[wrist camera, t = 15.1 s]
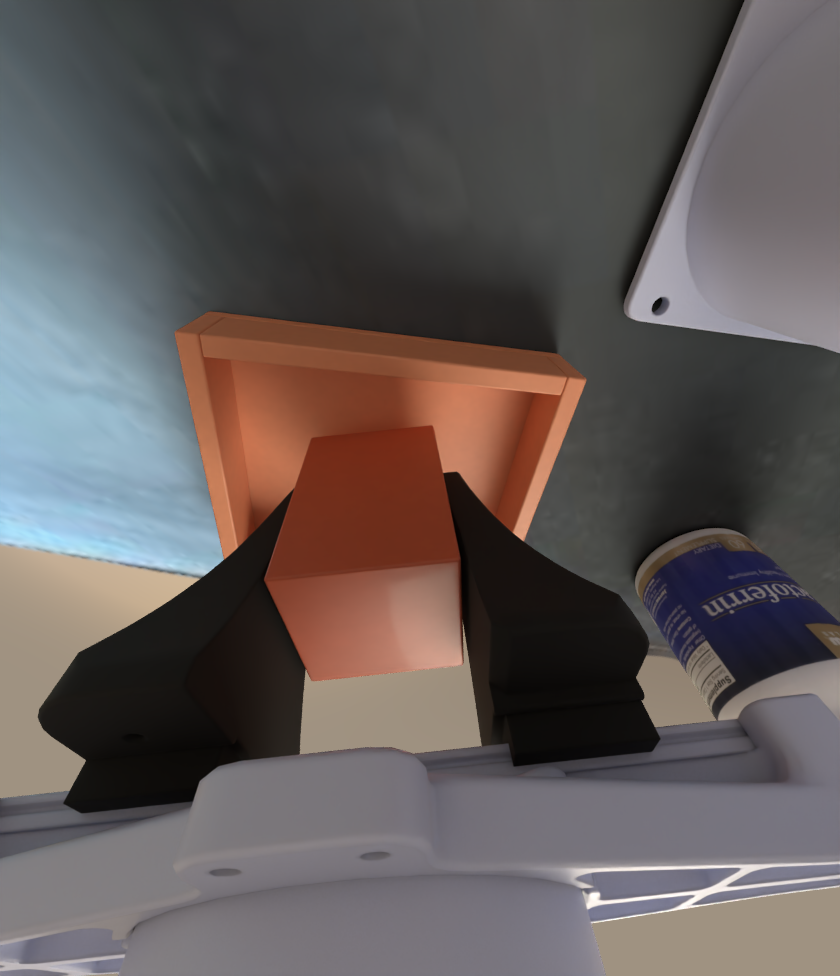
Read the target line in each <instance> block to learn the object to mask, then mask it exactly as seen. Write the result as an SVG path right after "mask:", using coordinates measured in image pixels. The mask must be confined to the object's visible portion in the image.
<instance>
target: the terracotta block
mask: <svg viewBox="0 0 840 976" xmlns="http://www.w3.org/2000/svg"><path fill="white" fill-rule="evenodd" d="M264 581H265V584H266V586H267V588H268V590H269V592H270V594H271V596H272V599H273V601H274V603H275V605H276V607H277V609H278V611H279V613H280V615H281V618H282V620H283V622H284V624H285V626H286V628H287V630H288V632H289V634H290V637H291V639H292V641H293V643H294V645H295V647H296V649H297V651H298V653H299V656H300V658H301V660H302V662H303V664H304V666H305V668H306V670H307V673H308V675H309V677H310V679H311V680H312V681H322V680H331V679H341V678H350V677H359V676H369V675H378V674H387V673H397V672H406V671H416V670H425V669H434V668H443V667H453V666H461V665H463V663H464V658H463V620H462V583H461V557H460V553H459V548H458V543H457V538H456V533H455V528H454V523H453V519H452V514H451V509H450V504H449V499H448V494H447V489H446V485H445V480H444V475H443V470H442V465H441V460H440V455H439V451H438V446H437V441H436V436H435V431H434V427H433V426H432V425H429V426H419V427H410V428H400V429H390V430H381V431H371V432H361V433H352V434H342V435H332V436H322V437H313V438H311V440H310V443H309V446H308V449H307V452H306V455H305V458H304V461H303V464H302V467H301V470H300V473H299V476H298V479H297V482H296V485H295V488H294V491H293V494H292V497H291V500H290V503H289V506H288V509H287V512H286V515H285V518H284V521H283V524H282V527H281V530H280V533H279V536H278V539H277V542H276V545H275V548H274V551H273V554H272V557H271V560H270V563H269V566H268V569H267V572H266V575H265V578H264Z"/></svg>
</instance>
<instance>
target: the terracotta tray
mask: <svg viewBox="0 0 840 976" xmlns="http://www.w3.org/2000/svg"><path fill="white" fill-rule="evenodd" d="M175 338H176V343H177V347H178V352H179V356H180V361H181V365H182V370H183V374H184V379H185V383H186V388H187V393H188V397H189V402H190V406H191V411H192V415H193V420H194V424H195V429H196V433H197V438H198V443H199V447H200V452H201V456H202V461H203V465H204V470H205V474H206V479H207V483H208V488H209V493H210V497H211V502H212V506H213V511H214V515H215V520H216V524H217V529H218V534H219V538H220V543H221V547H222V552H223V556H224V559H226V558H227V557H228V556H229V555H230V554H231V553H232V552H233V551H235V550H236V549H237V548H238V547H239V546H240V545H241V544H242V543H243V542H244V541H245V540H246V539H247V538H248V537H249V536H250V535H251V534H252V533H253V532H254V531H255V530H256V529H257V528H258V527H259V526H260V525H261V524H262V523H263V521H264V520H265V519H266V518H267V517H268V516H269V515H270V514H271V513H272V512H273V511H274V510H275V508H276V507H277V506H278V505H279V504H280V503H281V502H282V501H283V499H284V498H285V497H286V496H287V495H288V494H289V493H290V492H291V491H292V490H293V489H294V488H295V485H296V482H297V479H298V476H299V473H300V470H301V467H302V464H303V461H304V458H305V455H306V452H307V449H308V446H309V443H310V440H311V438H313V437H322V436H332V435H342V434H352V433H361V432H371V431H381V430H390V429H400V428H410V427H419V426H429V425H432V426H433V427H434V431H435V436H436V441H437V446H438V451H439V455H440V460H441V465H442V470H443V473H446V472H456V471H457V472H458V473H459V474H460V475H461V476H462V478H463V479H464V481H465V482H466V483H467V485H468V486H469V487H470V489H471V490H472V491H473V492H474V494H475V495H476V496H477V497H478V498H479V500H480V501H481V502H482V503H483V504H484V505H485V506H486V507H487V508H488V510H489V511H490V512H491V513H492V514H493V515H494V516H495V517H496V518H497V519H498V520H499V521H500V522H501V523H503V524H504V525H505V526H506V527H507V528H508V529H509V530H510V531H511V532H513V533H514V534H515V535H516V536H517V537H519V538H520V539H521V540H522V541H524V539H525V536H526V534H527V531H528V529H529V526H530V524H531V521H532V518H533V516H534V513H535V511H536V508H537V506H538V503H539V501H540V498H541V495H542V493H543V490H544V488H545V485H546V483H547V480H548V478H549V475H550V472H551V470H552V467H553V465H554V462H555V460H556V457H557V454H558V452H559V449H560V447H561V444H562V442H563V439H564V437H565V434H566V431H567V429H568V426H569V424H570V421H571V419H572V416H573V413H574V411H575V408H576V406H577V403H578V401H579V398H580V396H581V393H582V390H583V388H584V385H585V383H586V378H585V377H584V376H583V375H581V374H580V373H579V372H578V371H577V370H576V369H575V368H573V367H572V366H571V365H570V364H569V363H568V362H567V361H565V360H564V359H563V358H562V357H561V356H560V355H559V354H555V353H547V352H539V351H531V350H523V349H515V348H506V347H498V346H490V345H482V344H474V343H466V342H457V341H449V340H441V339H433V338H425V337H416V336H408V335H400V334H392V333H384V332H376V331H367V330H359V329H351V328H343V327H335V326H327V325H318V324H310V323H302V322H294V321H286V320H278V319H269V318H261V317H253V316H245V315H237V314H229V313H220V312H212V311H209V312H207V313H205V314H204V315H202V316H201V317H199V318H197V319H196V320H194V321H192V322H190V323H189V324H187V325H185V326H184V327H182V328H180V329H178V330H177V331H175Z"/></svg>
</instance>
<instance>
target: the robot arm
mask: <svg viewBox="0 0 840 976" xmlns="http://www.w3.org/2000/svg"><path fill="white" fill-rule="evenodd" d="M660 297H661V298H662V303H661V306H660V307H659V308H658V309H657V310H656V311H654V312H652V305H653V304H654V302H655V301H656V300H657V299H658V298H660ZM623 307H624V313H625V314H626V315H627V317H629V318H632V319H634V320H636V321H642V322H649V323H656V324H664V325H671V326H678V327H685V328H693V329H700V330H707V331H714V332H722V333H729V334H736V335H743V336H751V337H758V338H765V339H772V340H780V341H787V342H794V343H801V344H809V345H816V346H819V347H822V348H825V349H828V350H831V351H834V352H837V353H840V0H745V1H744V3H743V6H742V8H741V11H740V13H739V16H738V18H737V21H736V23H735V26H734V28H733V31H732V33H731V36H730V38H729V41H728V43H727V46H726V48H725V51H724V53H723V56H722V58H721V61H720V63H719V66H718V68H717V71H716V73H715V76H714V78H713V81H712V83H711V86H710V88H709V91H708V93H707V96H706V98H705V101H704V103H703V106H702V108H701V111H700V113H699V116H698V118H697V121H696V123H695V126H694V128H693V131H692V133H691V136H690V138H689V141H688V143H687V146H686V148H685V151H684V153H683V156H682V158H681V161H680V163H679V166H678V168H677V171H676V173H675V176H674V178H673V181H672V183H671V186H670V188H669V191H668V193H667V196H666V198H665V201H664V203H663V206H662V208H661V211H660V213H659V216H658V218H657V221H656V223H655V226H654V228H653V231H652V233H651V236H650V238H649V241H648V243H647V246H646V248H645V251H644V253H643V256H642V258H641V261H640V263H639V266H638V268H637V271H636V273H635V276H634V278H633V281H632V283H631V286H630V288H629V291H628V293H627V296H626V298H625V301H624V306H623ZM443 475H444V480H445V485H446V489H447V494H448V499H449V504H450V509H451V514H452V519H453V523H454V528H455V533H456V538H457V543H458V548H459V553H460V557H461V583H462V619H463V625H464V631H465V637H466V643H467V650H468V656H469V663H470V668H471V676H472V682H473V688H474V695H475V702H476V709H477V716H478V722H479V729H480V737H481V743H482V746H480V747H471V748H462V749H453V750H443V751H434V752H425V753H415V754H412V753H410V752H406V751H403V750H399V749H395V748H392V747H389V748H388V747H385V748H384V747H376V748H375V747H370V748H369V747H365V748H355V749H347V750H337V751H328V752H318V753H309V754H300V733H301V718H302V703H303V691H304V680H305V669H306V668H305V666H304V664H303V662H302V660H301V658H300V656H299V653H298V651H297V649H296V647H295V645H294V643H293V641H292V639H291V637H290V634H289V632H288V630H287V628H286V626H285V624H284V622H283V620H282V618H281V615H280V613H279V611H278V609H277V607H276V605H275V603H274V601H273V599H272V596H271V594H270V592H269V590H268V588H267V586H266V584H265V581H264V578H265V575H266V572H267V569H268V566H269V563H270V560H271V557H272V554H273V551H274V548H275V545H276V542H277V539H278V536H279V533H280V530H281V527H282V524H283V521H284V518H285V515H286V512H287V509H288V506H289V503H290V500H291V497H292V494H293V491H294V489H293V490H292V491H291V492H290V493H289V494H288V495H287V496H286V497H285V498H284V499H283V501H282V502H281V503H280V504H279V505H278V506H277V507H276V508H275V510H274V511H273V512H272V513H271V514H270V515H269V516H268V517H267V518H266V519H265V520H264V521H263V523H262V524H261V525H260V526H259V527H258V528H257V529H256V530H255V531H254V532H253V533H252V534H251V535H250V536H249V537H248V538H247V539H246V540H245V541H244V542H243V543H242V544H241V545H240V546H239V547H238V548H237V549H236V550H235V551H233V552H232V553H231V554H230V555H229V556H228V557H227V558H226V559H224V560H223V561H222V562H221V563H220V564H219V565H217V566H216V567H215V568H214V569H212V570H211V571H210V572H209V573H208V574H206V575H205V576H204V577H202V578H201V579H200V580H198V581H197V582H195V583H194V584H193V585H191V586H190V587H188V588H187V589H186V590H184V591H183V592H182V593H180V594H179V595H177V596H176V597H175V598H173V599H172V600H170V601H169V602H167V603H165V604H164V605H162V606H161V607H159V608H158V609H156V610H154V611H153V612H151V613H150V614H148V615H146V616H145V617H143V618H141V619H140V620H138V621H136V622H135V623H133V624H131V625H130V626H128V627H126V628H124V629H122V630H120V631H118V632H117V633H115V634H113V635H111V636H109V637H107V638H105V639H104V640H102V641H100V642H98V643H96V644H94V645H92V646H91V647H89V648H87V649H85V650H83V651H81V652H79V653H78V654H77V656H76V657H75V659H74V660H73V662H72V663H71V664H70V666H69V667H68V669H67V670H66V672H65V673H64V674H63V676H62V677H61V679H60V680H59V682H58V683H57V685H56V686H55V687H54V689H53V690H52V692H51V693H50V695H49V696H48V698H47V699H46V700H45V702H44V703H43V705H42V706H41V708H40V709H39V714H38V719H39V721H40V724H41V726H42V728H43V729H44V730H45V731H46V732H47V733H48V734H49V735H50V736H51V737H53V738H54V739H56V740H57V741H59V742H60V743H62V744H63V745H65V746H66V747H68V748H69V749H71V750H72V751H73V752H75V753H77V754H78V755H79V756H81V757H82V758H84V759H85V760H86V762H85V764H84V766H83V767H82V769H81V771H80V773H79V775H78V777H77V779H76V780H75V782H74V784H73V786H72V788H71V790H70V791H64V792H55V793H46V794H36V795H27V796H18V797H8V798H0V976H83V975H97V974H112V973H119V975H118V976H606V974H605V970H604V966H603V963H602V959H601V956H600V952H599V949H598V945H597V942H596V938H595V935H594V931H593V927H592V924H591V923H596V922H603V921H609V920H615V919H622V918H628V917H634V916H641V915H647V914H653V913H660V912H667V911H673V910H679V909H685V908H692V907H698V906H705V905H711V904H717V903H724V902H730V901H737V900H744V899H751V898H757V897H764V896H771V895H778V894H786V893H794V892H800V891H808V890H817V889H825V888H834V887H840V721H839V719H838V718H837V717H836V716H835V715H834V714H833V713H832V711H831V710H830V709H829V708H828V707H827V706H826V705H825V704H824V702H823V701H822V700H821V699H820V698H819V697H818V696H817V695H815V694H812V693H808V694H799V695H789V696H780V697H771V698H764V699H759V700H756V701H754V702H751V703H749V704H748V705H747V706H745V707H744V708H743V710H742V711H741V713H740V714H739V717H738V719H729V720H720V721H711V722H702V723H692V724H683V725H674V726H665V727H654V725H653V723H652V721H651V719H650V717H649V715H648V713H647V711H646V709H645V707H644V705H643V703H642V701H641V700H643V699H644V692H643V690H642V688H641V686H640V685H639V683H638V681H637V679H636V676H637V674H638V672H639V670H640V668H641V666H642V663H643V661H644V659H645V657H646V655H647V652H648V648H649V640H648V637H647V634H646V633H645V631H644V629H643V628H642V626H641V625H640V623H639V621H638V620H637V618H636V617H635V615H634V614H633V612H632V611H631V610H630V608H629V607H628V606H627V605H626V603H625V602H624V601H623V600H622V598H621V597H620V595H618V594H616V593H614V592H612V591H610V590H607V589H605V588H603V587H601V586H599V585H596V584H594V583H592V582H590V581H588V580H585V579H583V578H581V577H580V576H578V575H576V574H574V573H572V572H570V571H568V570H567V569H565V568H563V567H561V566H559V565H558V564H556V563H554V562H553V561H551V560H550V559H548V558H547V557H545V556H544V555H542V554H540V553H539V552H537V551H536V550H534V549H533V548H532V547H530V546H529V545H528V544H526V543H525V542H524V541H522V540H521V539H520V538H519V537H517V536H516V535H515V534H514V533H513V532H511V531H510V530H509V529H508V528H507V527H506V526H505V525H504V524H503V523H501V522H500V521H499V520H498V519H497V518H496V517H495V516H494V515H493V514H492V513H491V512H490V511H489V510H488V508H487V507H486V506H485V505H484V504H483V503H482V502H481V501H480V500H479V498H478V497H477V496H476V495H475V494H474V492H473V491H472V490H471V489H470V487H469V486H468V485H467V483H466V482H465V481H464V479H463V478H462V476H461V475H460V474H459V473H458V472H457V471H456V472H446V473H443ZM299 754H300V755H299Z"/></svg>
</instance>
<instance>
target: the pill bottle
mask: <svg viewBox="0 0 840 976" xmlns="http://www.w3.org/2000/svg"><path fill="white" fill-rule="evenodd" d="M635 587H636V591H637V594H638V596H639V598H640V599H641V601H642V603H643V605H644V606H645V608H646V609H647V611H648V613H649V614H650V616H651V617H652V619H653V621H654V622H655V624H656V625H657V627H658V628H659V630H660V632H661V633H662V635H663V636H664V638H665V639H666V641H667V643H668V644H669V646H670V647H671V649H672V651H673V652H674V654H675V655H676V657H677V658H678V660H679V662H680V663H681V665H682V666H683V668H684V669H685V671H686V673H687V674H688V676H689V677H690V679H691V681H692V682H693V684H694V685H695V687H696V688H697V690H698V692H699V693H700V695H701V696H702V698H703V699H704V701H705V703H706V704H707V706H708V707H709V709H710V711H711V712H712V714H713V715H714V717H715V718H716V720H717V721H720V720H729V719H738V717H739V714H740V713H741V711H742V710H743V708H744V707H745V706H747V705H748V704H749V703H751V702H754V701H756V700H759V699H764V698H771V697H780V696H789V695H799V694H808V693H812V694H815V695H817V696H818V697H819V698H820V699H821V700H822V701H823V702H824V704H825V705H826V706H827V707H828V708H829V709H830V710H831V711H832V713H833V714H834V715H835V716H836V717H837V718H838V719H839V721H840V623H839V622H838V621H837V620H836V619H835V618H834V617H833V616H832V615H831V614H830V613H829V612H828V611H827V610H825V609H824V608H823V607H822V606H821V605H820V604H819V603H818V602H817V601H816V600H815V599H814V598H813V597H812V596H810V595H809V594H808V593H807V592H806V591H805V590H804V589H803V588H802V587H801V586H799V585H798V584H797V583H796V582H795V581H794V580H793V579H792V578H791V577H790V576H789V575H788V574H787V573H786V572H784V571H783V570H782V569H781V568H780V567H779V566H778V565H777V564H776V563H775V562H774V561H773V560H772V559H771V558H770V557H768V556H767V555H766V554H765V553H764V552H763V551H762V550H761V549H760V548H759V547H758V546H757V545H755V544H754V543H753V542H752V541H751V540H749V539H748V538H747V537H746V536H744V535H743V534H741V533H738V532H736V531H733V530H729V529H724V528H708V529H701V530H696V531H692V532H689V533H686V534H683V535H680V536H678V537H676V538H674V539H672V540H670V541H668V542H666V543H665V544H663V545H661V546H660V547H658V548H657V549H656V550H655V551H653V552H652V553H651V554H650V555H649V556H648V557H647V558H646V559H645V560H644V562H643V563H642V565H641V566H640V568H639V570H638V572H637V575H636V579H635Z"/></svg>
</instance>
